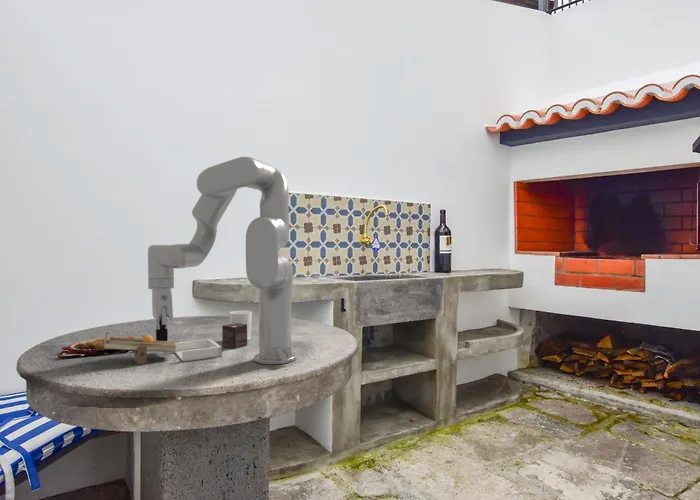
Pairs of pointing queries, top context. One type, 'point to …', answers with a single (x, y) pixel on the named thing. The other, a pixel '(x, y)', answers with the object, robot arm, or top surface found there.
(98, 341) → the plate with food
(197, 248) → the robot arm
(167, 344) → the lever
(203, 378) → the top surface
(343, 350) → the top surface
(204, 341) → the dish
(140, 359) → the fulcrum
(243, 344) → the box
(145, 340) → the ball
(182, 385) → the top surface
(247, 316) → the white cup
